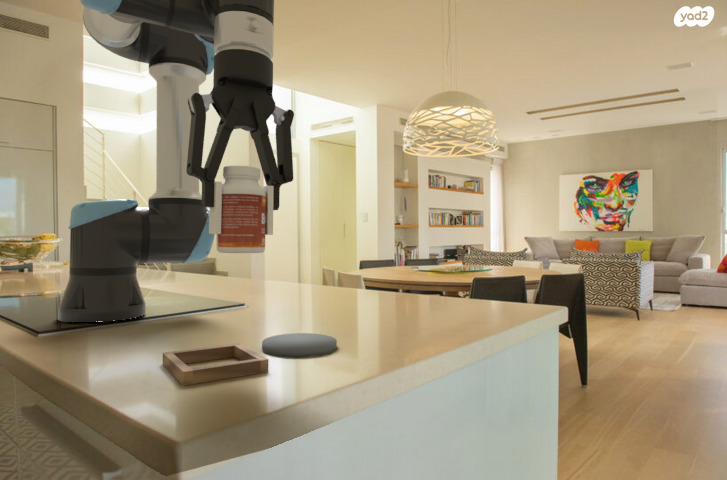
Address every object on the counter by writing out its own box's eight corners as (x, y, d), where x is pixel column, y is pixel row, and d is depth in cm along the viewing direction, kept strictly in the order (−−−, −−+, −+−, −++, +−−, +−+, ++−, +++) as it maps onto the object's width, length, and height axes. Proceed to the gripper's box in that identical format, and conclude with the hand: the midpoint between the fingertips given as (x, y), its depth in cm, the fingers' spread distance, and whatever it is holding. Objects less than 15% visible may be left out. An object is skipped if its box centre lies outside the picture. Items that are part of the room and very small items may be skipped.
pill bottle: (272, 253, 60) (273, 167, 60) (223, 253, 57) (224, 162, 57) (256, 251, 65) (257, 172, 65) (211, 252, 62) (212, 168, 62)
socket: (162, 364, 59) (162, 352, 59) (238, 354, 65) (238, 343, 65) (183, 385, 51) (183, 372, 51) (268, 371, 57) (268, 359, 57)
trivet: (250, 344, 71) (250, 338, 71) (313, 336, 77) (313, 330, 77) (282, 361, 62) (282, 353, 62) (350, 350, 68) (350, 343, 68)
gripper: (172, 27, 52) (169, 233, 53) (322, 65, 63) (319, 235, 63) (159, 49, 59) (157, 232, 59) (298, 79, 69) (295, 235, 70)
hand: (241, 233), depth 61 cm, fingers closed on pill bottle, 6 cm apart
